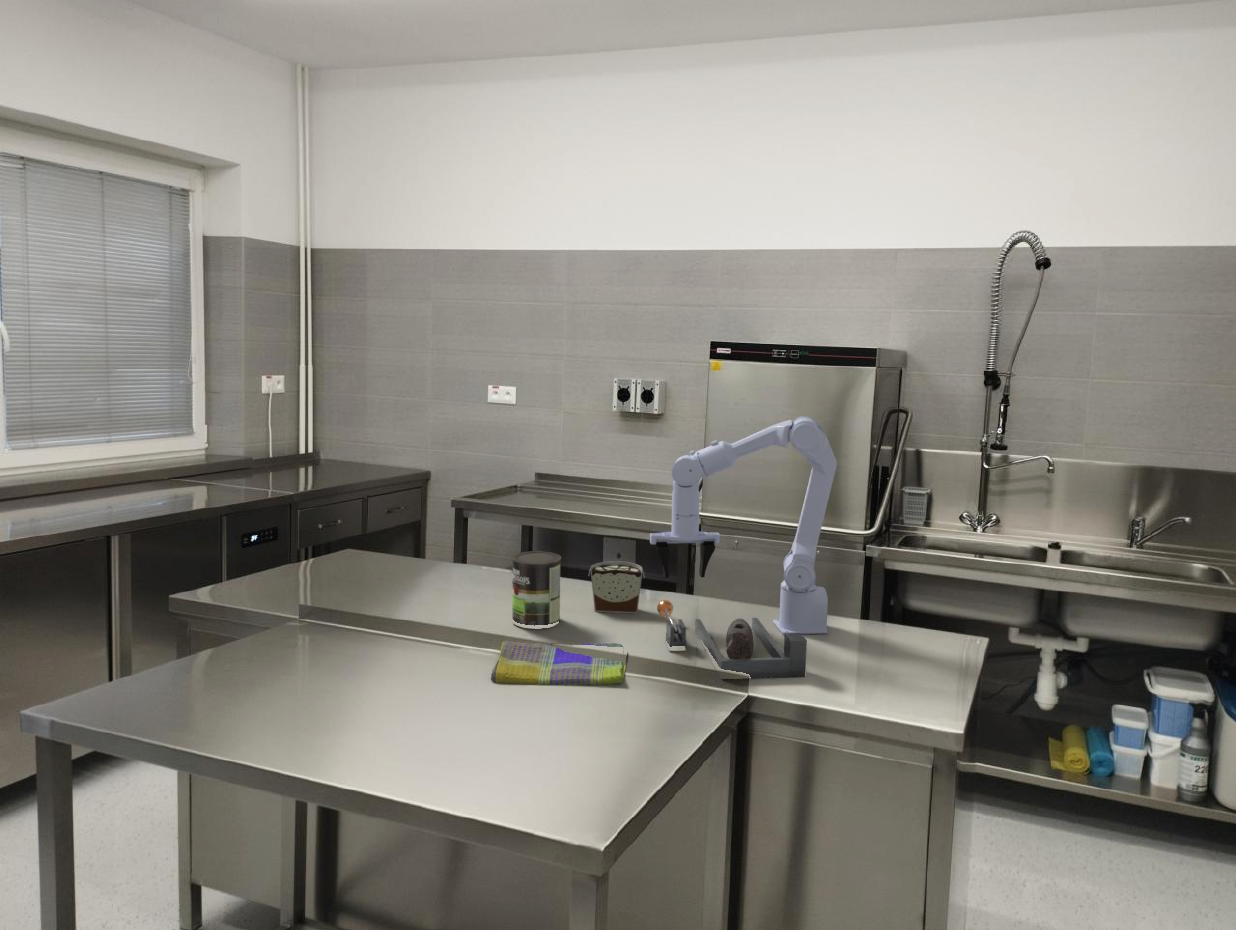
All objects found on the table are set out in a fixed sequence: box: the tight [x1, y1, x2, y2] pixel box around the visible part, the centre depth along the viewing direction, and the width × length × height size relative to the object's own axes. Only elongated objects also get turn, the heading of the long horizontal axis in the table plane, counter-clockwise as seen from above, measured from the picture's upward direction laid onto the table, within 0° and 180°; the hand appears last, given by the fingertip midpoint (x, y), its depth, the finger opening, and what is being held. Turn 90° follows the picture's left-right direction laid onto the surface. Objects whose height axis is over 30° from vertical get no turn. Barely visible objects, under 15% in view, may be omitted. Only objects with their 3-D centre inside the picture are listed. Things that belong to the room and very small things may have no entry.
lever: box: [656, 599, 679, 634], centre depth 193 cm, size 3×16×3 cm, turn 6°
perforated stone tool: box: [725, 618, 755, 659], centre depth 182 cm, size 15×5×7 cm, turn 172°
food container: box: [587, 560, 646, 614], centre depth 209 cm, size 12×6×10 cm, turn 84°
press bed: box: [665, 617, 808, 680], centre depth 183 cm, size 23×26×7 cm
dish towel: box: [490, 640, 627, 686], centre depth 175 cm, size 18×24×3 cm
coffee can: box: [511, 550, 562, 626], centre depth 199 cm, size 10×10×14 cm
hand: (683, 576), depth 200 cm, fingers open, 7 cm apart
